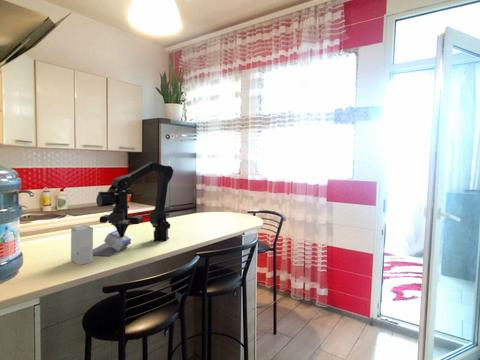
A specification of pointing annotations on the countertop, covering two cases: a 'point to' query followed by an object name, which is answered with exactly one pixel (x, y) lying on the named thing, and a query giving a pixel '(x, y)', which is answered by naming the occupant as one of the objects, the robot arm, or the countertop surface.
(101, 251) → the mat
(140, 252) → the countertop surface
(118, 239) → the medicine box
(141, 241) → the countertop surface
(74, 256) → the skincare box
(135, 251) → the countertop surface
